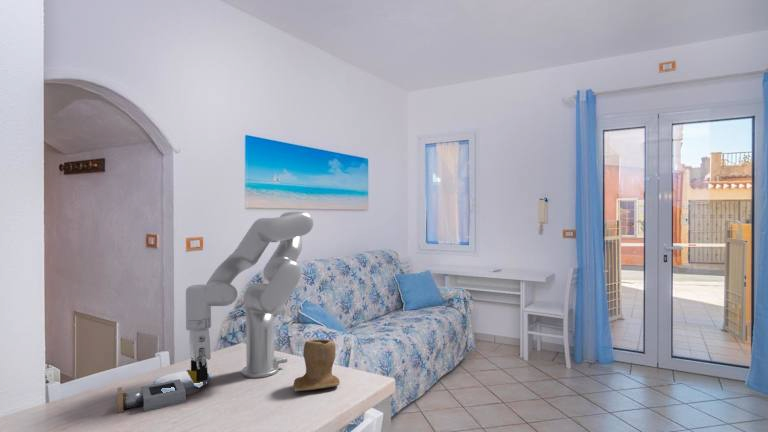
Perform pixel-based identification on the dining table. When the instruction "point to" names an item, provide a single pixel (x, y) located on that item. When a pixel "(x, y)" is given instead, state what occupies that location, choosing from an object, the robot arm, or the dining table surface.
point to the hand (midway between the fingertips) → (199, 376)
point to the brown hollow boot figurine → (317, 366)
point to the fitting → (152, 396)
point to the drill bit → (193, 377)
